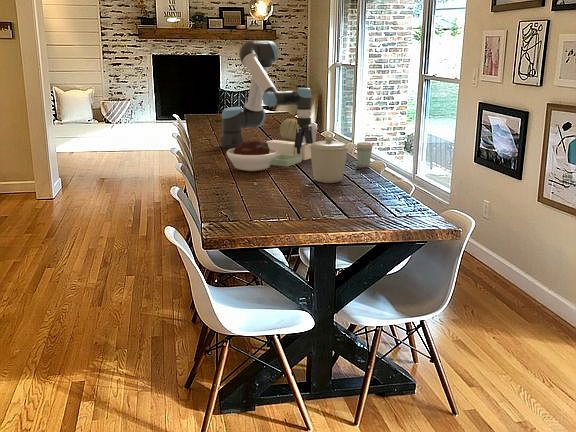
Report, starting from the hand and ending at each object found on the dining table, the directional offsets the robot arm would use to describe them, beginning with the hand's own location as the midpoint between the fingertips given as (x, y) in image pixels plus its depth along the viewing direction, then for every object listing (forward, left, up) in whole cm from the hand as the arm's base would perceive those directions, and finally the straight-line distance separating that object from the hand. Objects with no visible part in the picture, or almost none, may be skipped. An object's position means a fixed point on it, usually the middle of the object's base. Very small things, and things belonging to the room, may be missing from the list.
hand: (303, 158), depth 344 cm
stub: (0, 0, 0) cm, 0 cm away
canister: (+37, -44, 0) cm, 58 cm away
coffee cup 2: (+37, -3, 0) cm, 37 cm away
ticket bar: (-13, 0, 0) cm, 13 cm away
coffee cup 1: (-10, +25, 0) cm, 27 cm away
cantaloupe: (-36, +49, 0) cm, 61 cm away
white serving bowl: (-7, -41, -1) cm, 42 cm away
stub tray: (-3, -17, 0) cm, 17 cm away
